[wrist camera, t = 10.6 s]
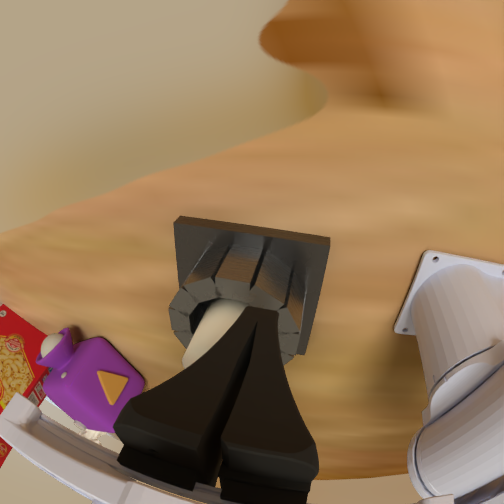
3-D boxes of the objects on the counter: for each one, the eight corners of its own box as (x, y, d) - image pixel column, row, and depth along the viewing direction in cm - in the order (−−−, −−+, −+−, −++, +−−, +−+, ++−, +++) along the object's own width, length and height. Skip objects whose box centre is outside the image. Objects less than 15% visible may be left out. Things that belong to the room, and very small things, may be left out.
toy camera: (75, 301, 32) (25, 359, 24) (158, 376, 36) (125, 440, 27) (54, 330, 37) (16, 377, 29) (122, 390, 41) (94, 441, 32)
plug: (274, 291, 21) (256, 358, 16) (267, 335, 23) (249, 398, 18) (212, 278, 22) (179, 339, 17) (211, 322, 24) (185, 382, 19)
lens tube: (330, 237, 21) (330, 281, 17) (305, 345, 27) (299, 392, 23) (180, 215, 23) (146, 250, 19) (189, 322, 29) (167, 363, 24)
